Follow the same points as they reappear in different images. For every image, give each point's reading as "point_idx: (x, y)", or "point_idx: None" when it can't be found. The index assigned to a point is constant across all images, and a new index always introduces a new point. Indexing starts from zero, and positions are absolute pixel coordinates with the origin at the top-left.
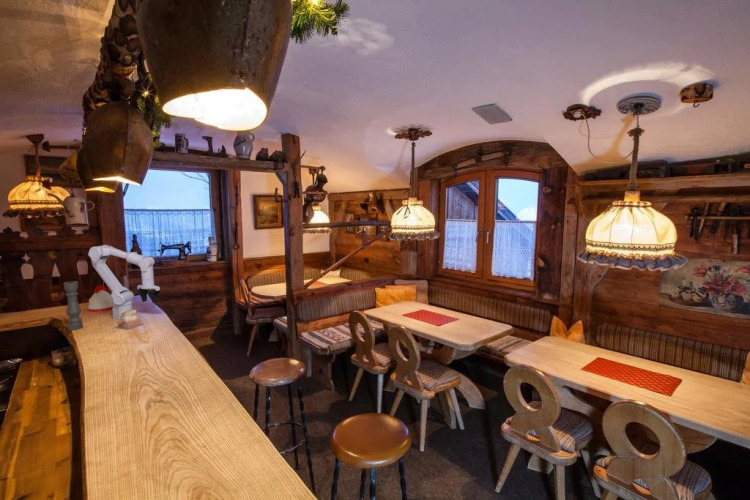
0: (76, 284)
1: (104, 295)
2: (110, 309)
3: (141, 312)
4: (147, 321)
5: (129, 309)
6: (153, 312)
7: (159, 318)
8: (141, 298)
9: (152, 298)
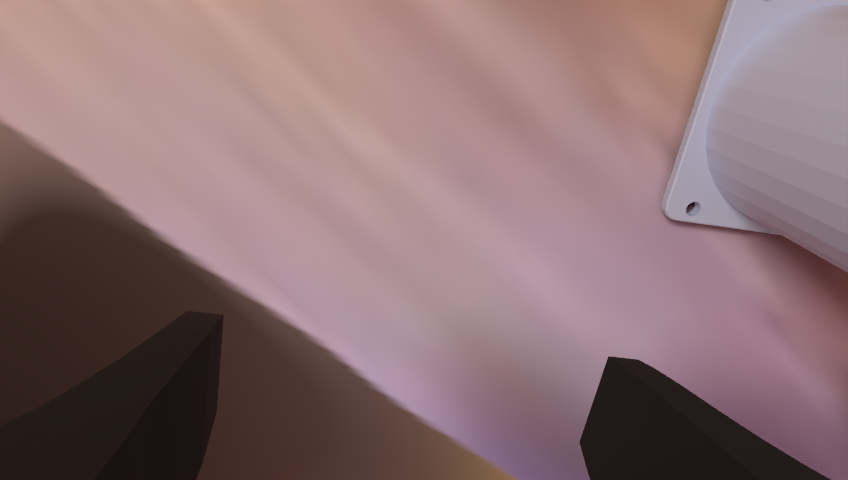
0: None
1: None
2: None
3: None
4: (346, 77)
5: (834, 147)
6: None
7: (273, 257)
8: (714, 411)
9: (120, 381)
